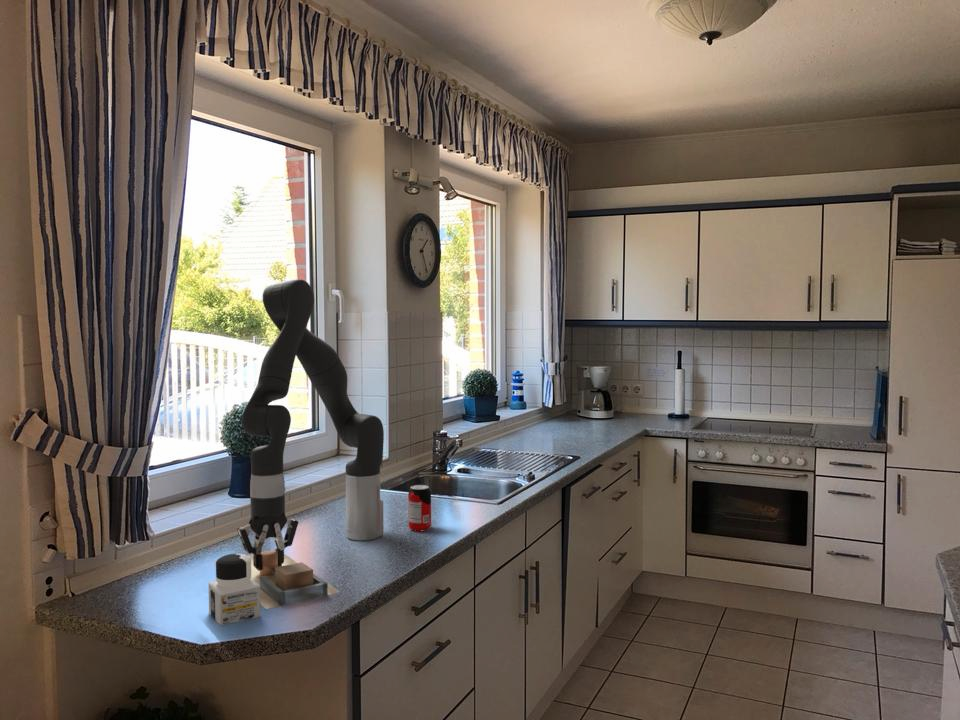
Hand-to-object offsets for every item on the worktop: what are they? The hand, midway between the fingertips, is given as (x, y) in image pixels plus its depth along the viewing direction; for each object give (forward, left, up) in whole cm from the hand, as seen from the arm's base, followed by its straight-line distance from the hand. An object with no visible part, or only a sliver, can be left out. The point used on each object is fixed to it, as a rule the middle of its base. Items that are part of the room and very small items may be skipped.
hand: (268, 567), depth 173 cm
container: (+14, +20, -3) cm, 24 cm away
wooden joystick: (0, +8, -1) cm, 8 cm away
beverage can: (-49, -15, -3) cm, 51 cm away
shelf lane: (0, +3, -3) cm, 4 cm away
